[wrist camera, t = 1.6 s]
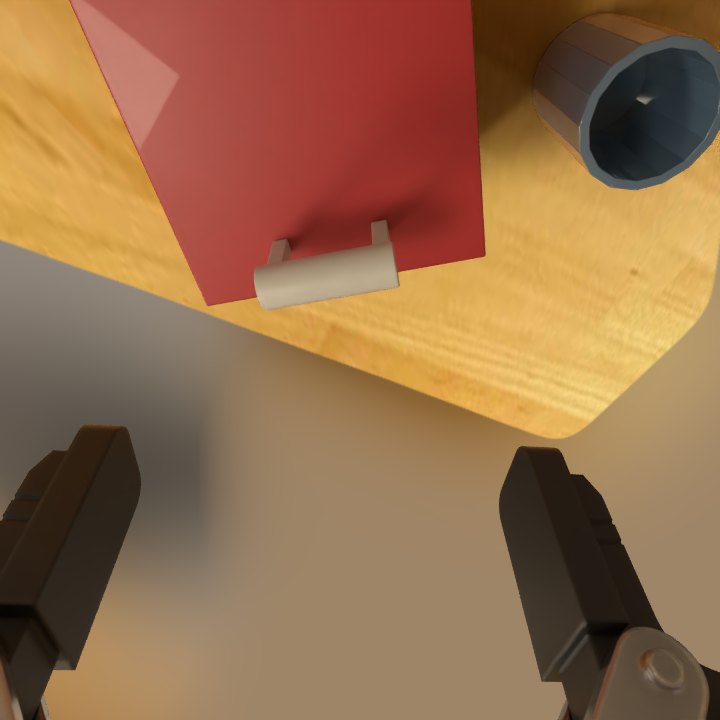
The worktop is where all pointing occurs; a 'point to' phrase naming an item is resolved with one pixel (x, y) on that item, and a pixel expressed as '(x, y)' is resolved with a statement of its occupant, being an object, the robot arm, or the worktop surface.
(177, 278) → the worktop surface
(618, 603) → the robot arm
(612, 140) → the cup
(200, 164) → the cooler lid
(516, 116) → the worktop surface
